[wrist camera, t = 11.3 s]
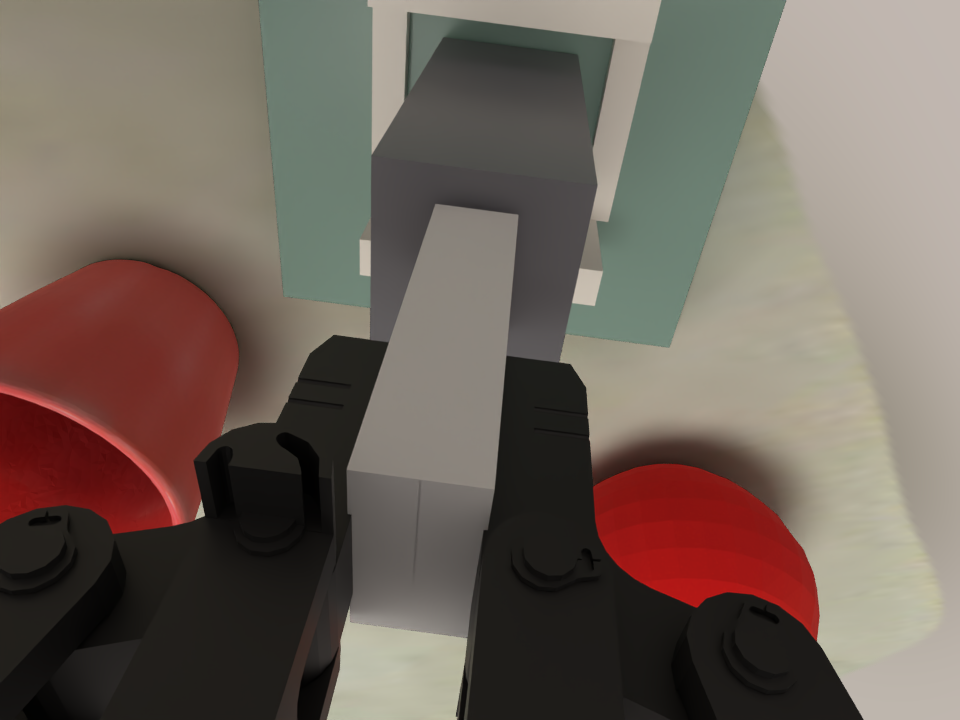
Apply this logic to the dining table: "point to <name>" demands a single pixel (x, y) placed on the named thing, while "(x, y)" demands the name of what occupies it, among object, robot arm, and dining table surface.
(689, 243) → the board
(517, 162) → the plug
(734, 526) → the tomato
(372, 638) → the dining table surface
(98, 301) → the flower pot
